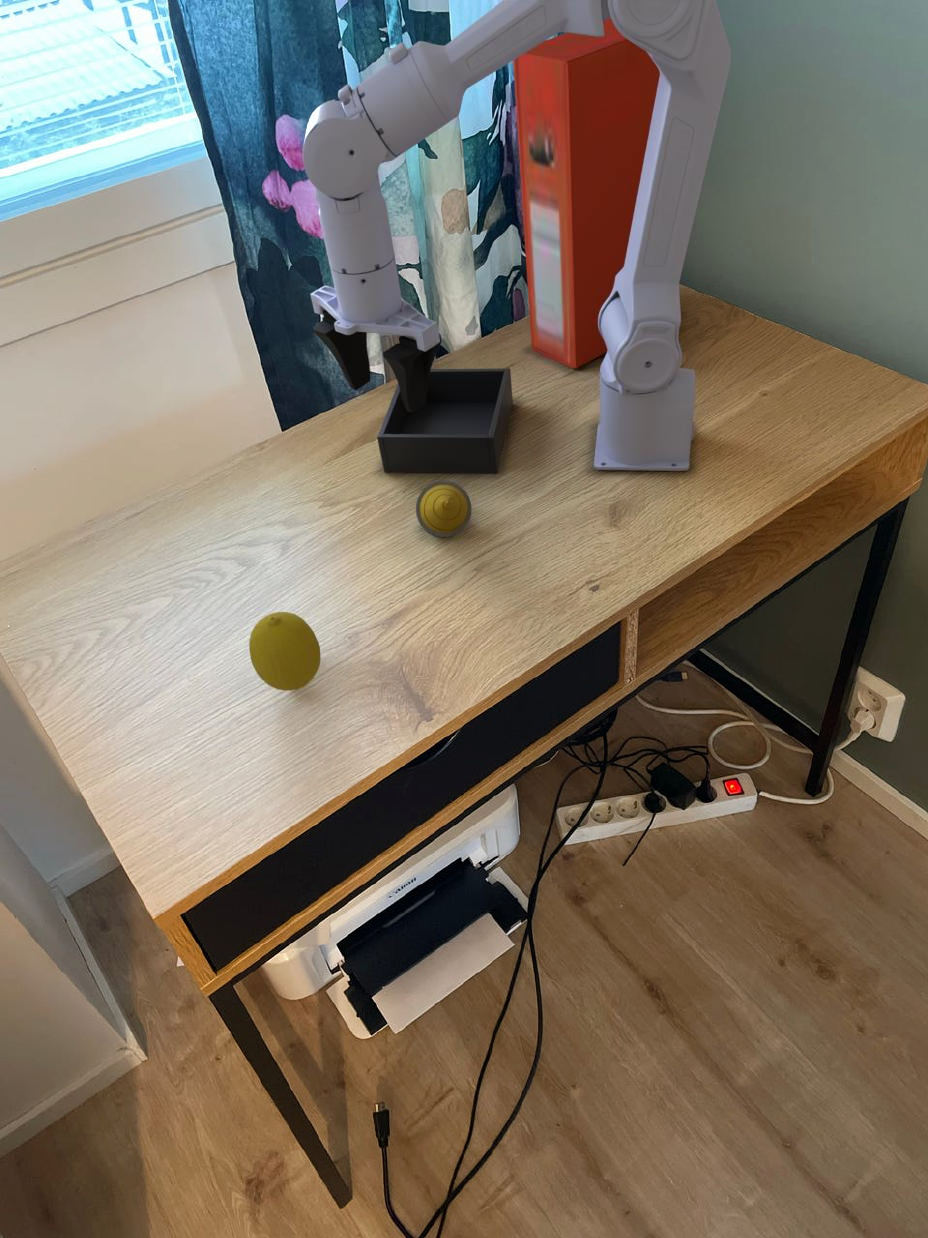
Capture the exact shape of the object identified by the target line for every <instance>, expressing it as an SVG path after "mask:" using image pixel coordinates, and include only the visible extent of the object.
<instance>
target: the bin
mask: <svg viewBox="0 0 928 1238" xmlns="http://www.w3.org/2000/svg"><path fill="white" fill-rule="evenodd" d="M511 374H512V373H511V368H510V367H509V368H508V367H507V368H506V367H505V368H431V370H430V375H429V380H428V387H427V396H426V404H425V405H423V406H422V407H421V408H419V409H418V410H416V411H415V412H414V413H410V412H408V411H407V410H406V408H405V406H404V403H403V400H402V396H401V392H400V388H399V384H398V383H397V385H396V387H395V390H394V392H393V395H392V397H391V400H390V403H389V406H388V408H387V410H386V413H385V415H384V418H383V421H382V423H381V426H380V429H379V431H378V434H377V436H376V439H377V444H378V449H379V452H380V458H381V464H382V468H383V472H384V473H406V474H407V473H408V474H417V473H418V474H476V475H477V474H480V475H481V474H487V475H488V474H489V475H490V474H491V475H497V474H498V472H499V466H500V463H501V459H502V453H503V449H504V445H505V440H506V437H507V431H508V426H509V423H510V418H511V414H512V409H513V404H514V401H513V389H512V387H513V386H512V375H511Z"/></svg>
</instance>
